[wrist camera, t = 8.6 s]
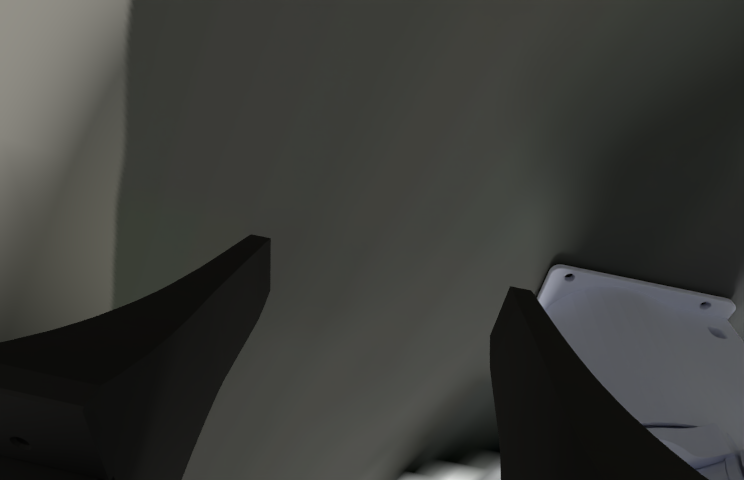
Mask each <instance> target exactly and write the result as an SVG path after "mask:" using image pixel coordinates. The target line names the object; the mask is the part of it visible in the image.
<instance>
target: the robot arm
mask: <svg viewBox="0 0 744 480" xmlns="http://www.w3.org/2000/svg"><path fill="white" fill-rule="evenodd" d="M270 243H271V238H266V237H261V236H256V235H249V236H248V237H246V238H245V239H243V240H242V241H240V242H239V243H237V244H235V245H234V246H232V247H231V248H230V249H228V250H227V251H225V252H223V253H222V254H220V255H219V256H217V257H216V258H214V259H213V260H211V261H210V262H208V263H206V264H205V265H203V266H202V267H200V268H199V269H197V270H195V271H193V272H192V273H190V274H188V275H186V276H185V277H183V278H181V279H179V280H178V281H176V282H174V283H172V284H170V285H169V286H167V287H165V288H163V289H161V290H159V291H157V292H154V293H152V294H150V295H148V296H146V297H144V298H141V299H139V300H137V301H135V302H132V303H130V304H127V305H125V306H122V307H119V308H117V309H114V310H112V311H109V312H106V313H104V314H101V315H99V316H96V317H93V318H90V319H87V320H84V321H81V322H78V323H74V324H71V325H68V326H64V327H61V328H58V329H54V330H50V331H47V332H43V333H39V334H34V335H30V336H26V337H22V338H18V339H14V340H10V341H5V342H0V480H181V479H182V477H183V474H184V472H185V469H186V467H187V464H188V461H189V459H190V456H191V454H192V451H193V449H194V447H195V444H196V442H197V439H198V437H199V435H200V432H201V430H202V427H203V425H204V423H205V420H206V418H207V416H208V413H209V411H210V409H211V407H212V404H213V402H214V400H215V397H216V395H217V393H218V391H219V389H220V387H221V385H222V383H223V381H224V379H225V377H226V375H227V374H228V372H229V370H230V368H231V367H232V365H233V363H234V361H235V360H236V358H237V356H238V354H239V353H240V351H241V349H242V347H243V346H244V344H245V342H246V340H247V339H248V337H249V335H250V333H251V332H252V330H253V328H254V326H255V324H256V323H257V321H258V319H259V317H260V314H261V312H262V310H263V307H264V305H265V302H266V300H267V297H268V295H269V292H270ZM567 274H573V275H572V276H571V277H565V276H566V275H567ZM703 302H706V303H705V304H702V305H700V304H701V303H703ZM735 309H736V306H735V304H734V303H733V302H732V301H731V300H730V299H728V298H723V297H719V296H714V295H709V294H704V293H699V292H694V291H689V290H684V289H680V288H675V287H670V286H665V285H660V284H655V283H650V282H645V281H641V280H636V279H631V278H626V277H621V276H616V275H611V274H606V273H602V272H597V271H592V270H587V269H582V268H577V267H572V266H567V265H563V264H558V265H554V266H553V267H551V269H550V270H549V272H548V275H547V277H546V279H545V281H544V283H543V286H542V288H541V290H540V292H539V294H538V297H537V298H536V297H535V295H534V294H533V292H532V291H531V290H526V289H521V288H516V287H511V286H510V288H509V291H508V293H507V296H506V298H505V300H504V303H503V305H502V308H501V310H500V313H499V315H498V318H497V320H496V323H495V325H494V327H493V330H492V332H491V335H490V371H491V379H492V387H493V395H494V403H495V411H496V418H497V426H498V433H499V443H500V459H501V480H744V342H743V340H742V339H741V338H740V336H739V335H738V333H737V332H736V331H735V329H734V328H733V327H732V325H731V324H730V323H729V321H728V319H729V317H730V316H731V315H732V314H733V312H734V311H735Z"/></svg>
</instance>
